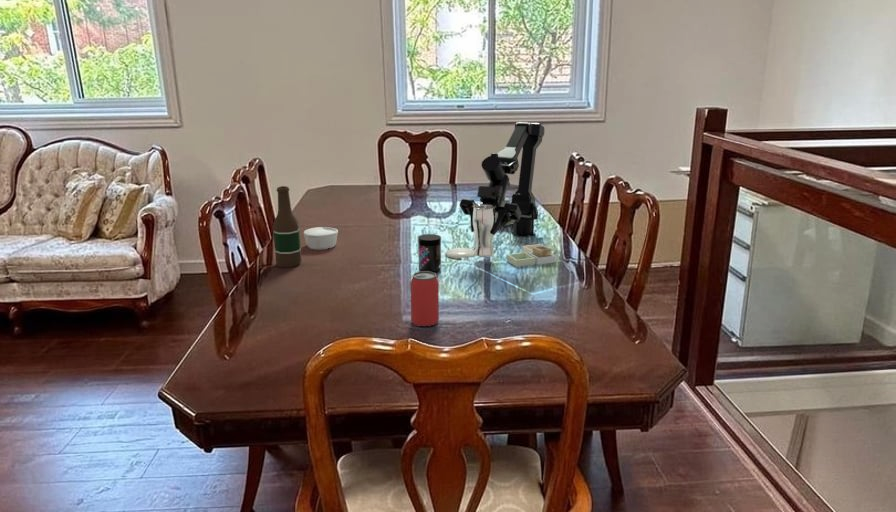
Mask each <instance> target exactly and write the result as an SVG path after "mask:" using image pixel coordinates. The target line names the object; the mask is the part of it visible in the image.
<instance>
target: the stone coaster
mask: <svg viewBox="0 0 896 512" xmlns="http://www.w3.org/2000/svg"><path fill="white" fill-rule="evenodd" d="M474 250H475V249H471V248H467V247H457V248H456V247H455V248H451V249H448V250H446V251H445V256H446V257H448V258H451V259H455V260H462V259H464V258H465V259H466V258H472V257H474V256H476V255H474Z"/></svg>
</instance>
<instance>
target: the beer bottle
mask: <svg viewBox="0 0 896 512" xmlns="http://www.w3.org/2000/svg"><path fill="white" fill-rule="evenodd" d="M276 192H277V215H276V217H275V218H274V221H273V224H272V225H273V226H272V229H273V230H272V231H273V232H272V233H273V241H274V243H273V244H274V255H275V264H276V266H278V267H280V268H286V269H287V268H295V267H298V266H300V265H301V263H302V247H301V235H300V225H299V223H300V222H299V221H298V219H297V217H296V215H295V214H294V213H293V211H292V206H291V199H290V188H289V186H285V185H282V186H278V187H277V188H276Z"/></svg>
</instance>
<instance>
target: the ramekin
mask: <svg viewBox="0 0 896 512" xmlns="http://www.w3.org/2000/svg"><path fill="white" fill-rule="evenodd" d="M338 235H339V230H338V229H337V228H334V227H329V226H317V227H316V226H315V227H311V228H308V229H307V228H306V229H305V230H304V231H303V236H304V239H305V243H306V246H307V247H308V248H309V249H311V250H319V251H320V250H328V248H329V249H332V248H334V247H335V246H336V245H337V240H338Z"/></svg>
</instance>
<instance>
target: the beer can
mask: <svg viewBox="0 0 896 512" xmlns="http://www.w3.org/2000/svg"><path fill="white" fill-rule="evenodd" d="M409 285H410V290H409V291H410V320H411V321H410V322H411V323H412V324H413V325H414V326H416V325H417V327H420V326H429V327H432V326H431V325H433V326H435V325H437V324H438V323H439V321H440V318H439V317H440V316H439V315H440V314H439V313H440V311H439V310H440V309H439V307H440V306H439V304H440V301H439V299H440V298H439V297H440V296H439V292H440V291H439V288H440V287H439V286H440V285H439V280H438V278H437V273H433V272H429V271H416V272H414V273H413V274H412V276H411V281H410V284H409ZM434 324H435V325H434Z"/></svg>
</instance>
